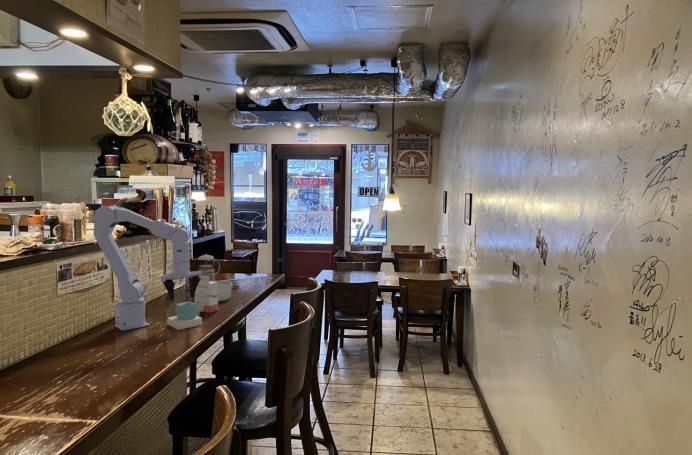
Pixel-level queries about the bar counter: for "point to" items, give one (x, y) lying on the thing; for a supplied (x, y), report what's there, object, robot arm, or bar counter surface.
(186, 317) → the teal cube
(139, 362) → the bar counter surface
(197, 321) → the cream slab
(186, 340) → the bar counter surface
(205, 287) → the ink cartridge box
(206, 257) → the french press
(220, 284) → the ramekin
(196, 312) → the sage block
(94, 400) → the bar counter surface
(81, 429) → the bar counter surface
